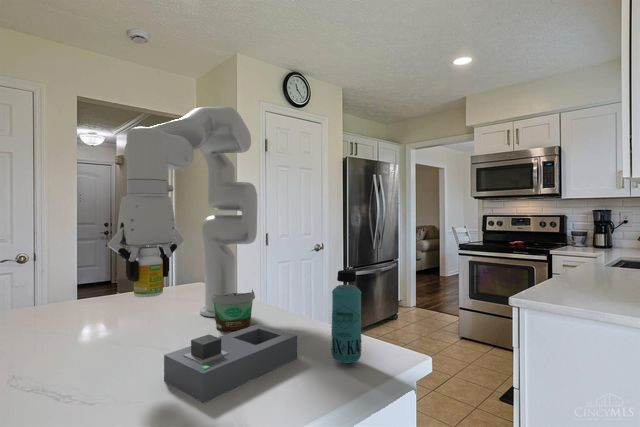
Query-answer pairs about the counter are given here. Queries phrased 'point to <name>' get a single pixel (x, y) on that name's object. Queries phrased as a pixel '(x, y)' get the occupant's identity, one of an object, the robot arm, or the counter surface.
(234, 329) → the food container
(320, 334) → the counter surface
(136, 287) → the supplement bottle
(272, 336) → the control panel
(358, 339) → the beverage bottle
